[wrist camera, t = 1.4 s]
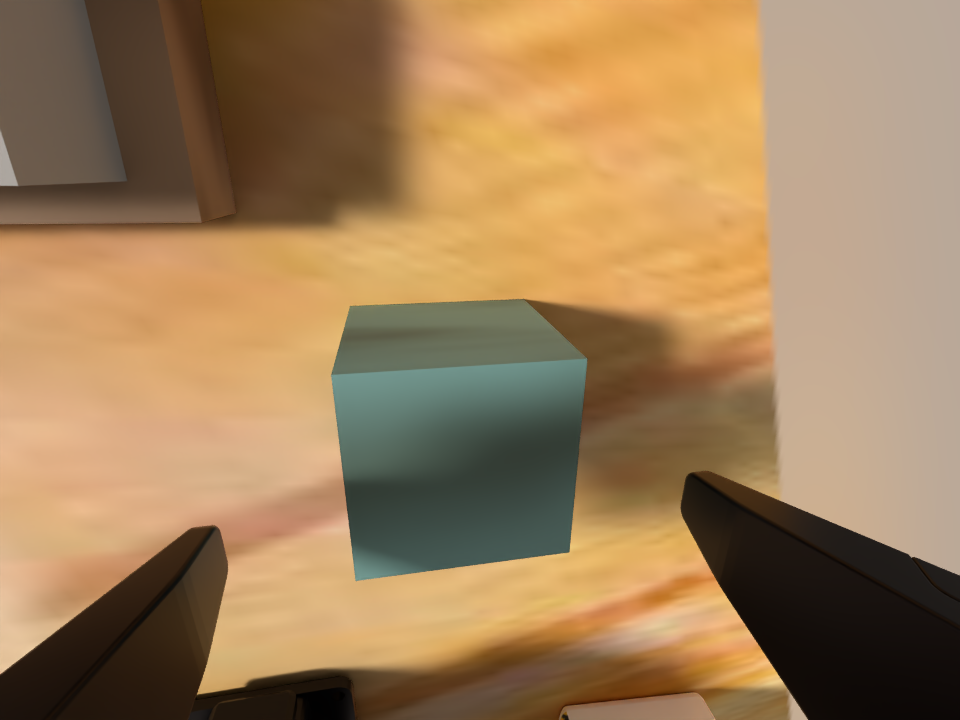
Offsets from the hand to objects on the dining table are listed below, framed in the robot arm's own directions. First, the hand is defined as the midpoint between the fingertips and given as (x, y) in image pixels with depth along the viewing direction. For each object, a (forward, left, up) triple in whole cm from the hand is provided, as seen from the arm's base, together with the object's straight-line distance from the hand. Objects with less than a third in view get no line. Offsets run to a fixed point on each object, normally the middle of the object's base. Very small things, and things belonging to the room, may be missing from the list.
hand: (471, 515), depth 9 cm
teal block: (0, 0, -6) cm, 6 cm away
